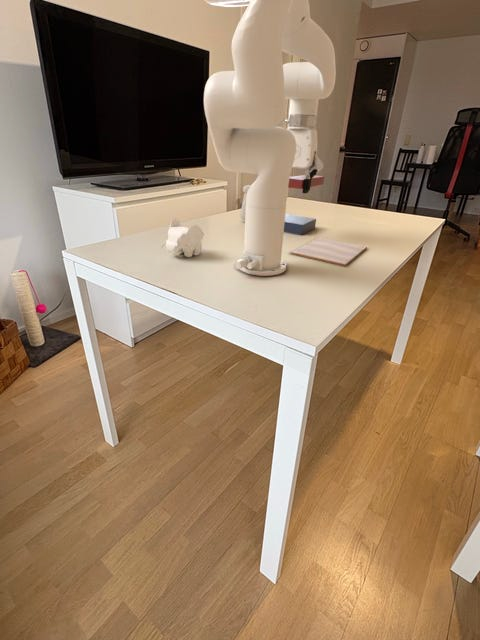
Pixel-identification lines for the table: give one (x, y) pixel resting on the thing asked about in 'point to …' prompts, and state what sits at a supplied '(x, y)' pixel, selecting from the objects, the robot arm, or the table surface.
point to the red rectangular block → (299, 180)
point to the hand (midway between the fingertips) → (294, 191)
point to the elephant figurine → (184, 239)
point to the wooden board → (330, 251)
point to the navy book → (298, 224)
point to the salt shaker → (244, 203)
